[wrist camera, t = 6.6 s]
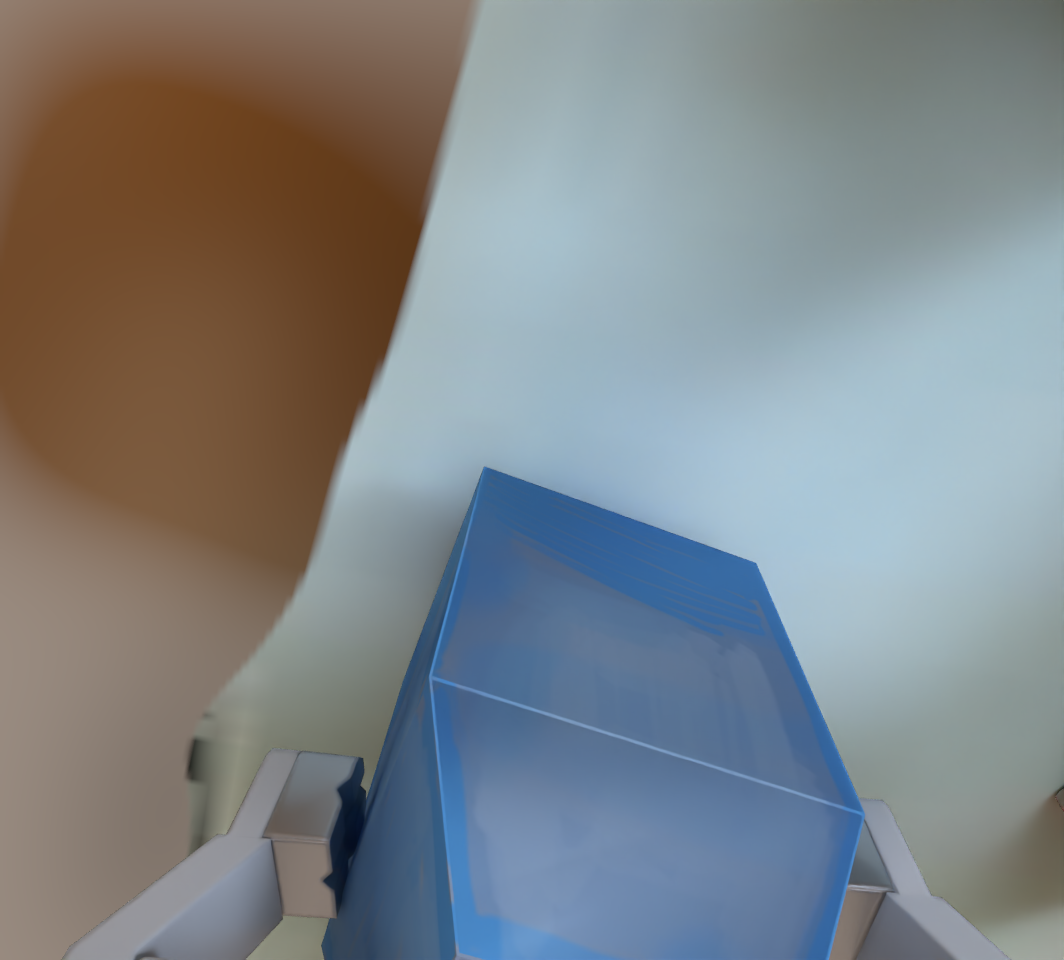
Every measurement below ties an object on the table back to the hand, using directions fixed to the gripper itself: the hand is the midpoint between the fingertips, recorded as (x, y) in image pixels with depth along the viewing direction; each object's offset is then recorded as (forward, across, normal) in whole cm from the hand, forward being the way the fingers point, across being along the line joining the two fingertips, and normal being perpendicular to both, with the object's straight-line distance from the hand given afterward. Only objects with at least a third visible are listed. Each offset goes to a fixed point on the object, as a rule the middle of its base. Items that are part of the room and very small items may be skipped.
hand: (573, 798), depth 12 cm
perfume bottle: (+5, 0, 0) cm, 5 cm away
